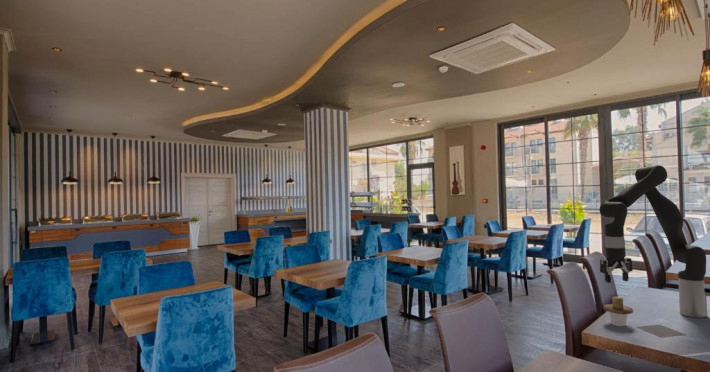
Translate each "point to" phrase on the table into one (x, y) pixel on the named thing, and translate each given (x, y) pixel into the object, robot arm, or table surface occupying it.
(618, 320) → the white short cylinder
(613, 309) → the walnut lid
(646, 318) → the table surface
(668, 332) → the rubber mat
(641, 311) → the table surface
